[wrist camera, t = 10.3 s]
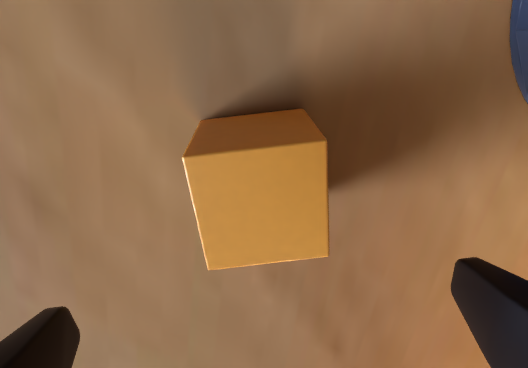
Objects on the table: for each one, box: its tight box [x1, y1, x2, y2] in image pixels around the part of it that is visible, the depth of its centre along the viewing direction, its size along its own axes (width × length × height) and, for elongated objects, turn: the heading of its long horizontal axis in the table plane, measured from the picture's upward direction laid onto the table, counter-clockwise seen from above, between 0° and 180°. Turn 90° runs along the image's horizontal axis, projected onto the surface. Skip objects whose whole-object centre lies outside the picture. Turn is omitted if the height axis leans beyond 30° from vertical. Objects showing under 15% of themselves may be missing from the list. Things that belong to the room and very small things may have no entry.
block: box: [182, 109, 329, 270], centre depth 13 cm, size 5×5×5 cm
